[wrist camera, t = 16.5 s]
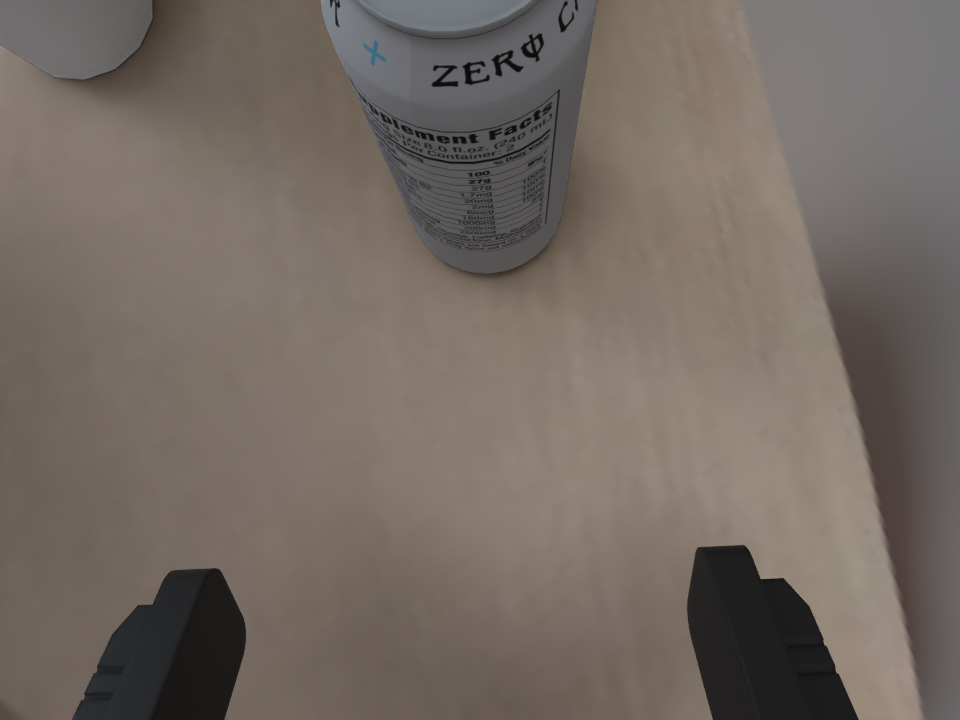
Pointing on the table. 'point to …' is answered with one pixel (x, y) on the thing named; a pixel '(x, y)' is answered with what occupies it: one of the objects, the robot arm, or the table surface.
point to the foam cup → (74, 33)
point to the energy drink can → (471, 114)
